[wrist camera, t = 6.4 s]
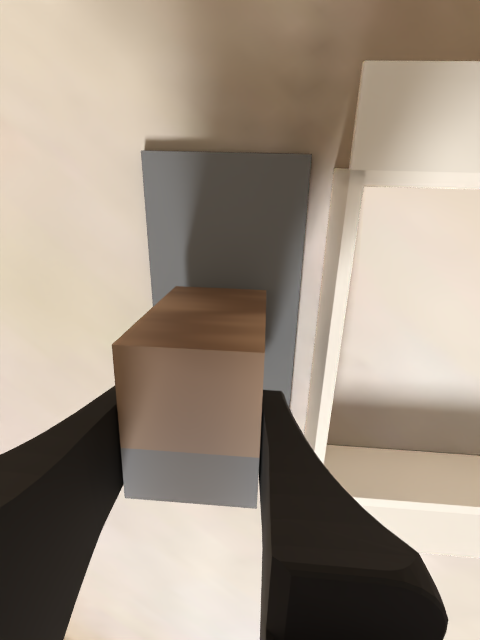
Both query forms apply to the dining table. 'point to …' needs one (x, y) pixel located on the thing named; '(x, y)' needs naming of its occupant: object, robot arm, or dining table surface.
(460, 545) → the carton
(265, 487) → the robot arm
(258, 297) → the block
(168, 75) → the dining table surface
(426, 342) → the dining table surface
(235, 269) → the mat
